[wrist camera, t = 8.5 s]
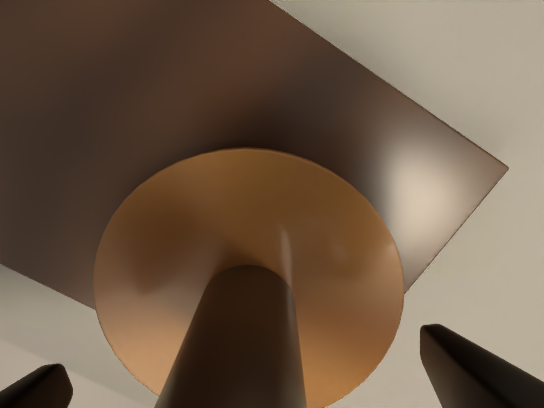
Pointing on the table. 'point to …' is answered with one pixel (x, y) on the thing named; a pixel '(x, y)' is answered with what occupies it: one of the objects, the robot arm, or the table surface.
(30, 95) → the board
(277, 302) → the lid
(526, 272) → the table surface
